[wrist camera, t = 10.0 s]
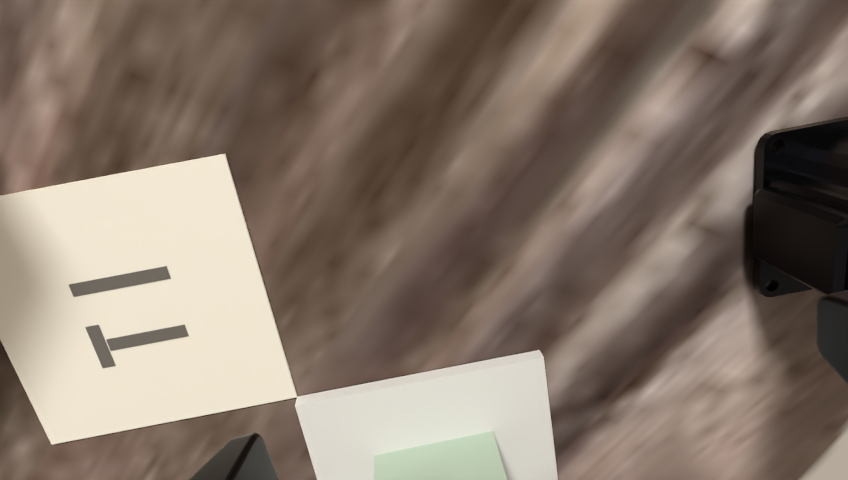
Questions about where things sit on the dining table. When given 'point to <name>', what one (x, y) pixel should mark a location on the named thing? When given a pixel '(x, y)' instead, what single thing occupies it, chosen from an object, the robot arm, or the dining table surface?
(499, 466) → the sage block
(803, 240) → the robot arm
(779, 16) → the dining table surface
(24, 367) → the tile
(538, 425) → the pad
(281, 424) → the dining table surface
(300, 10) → the dining table surface
